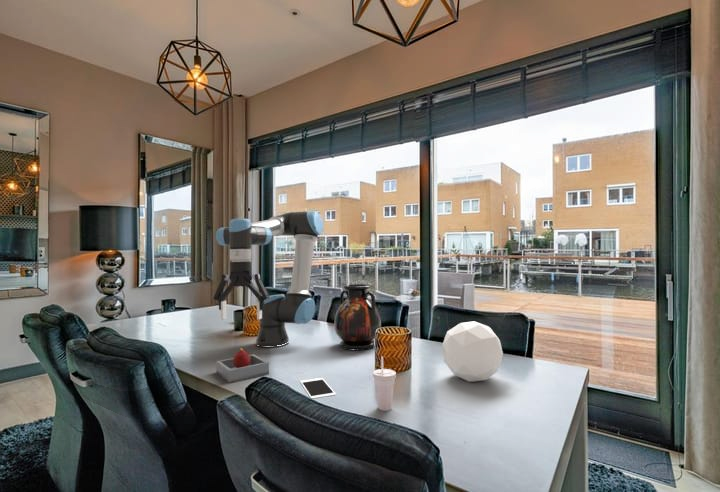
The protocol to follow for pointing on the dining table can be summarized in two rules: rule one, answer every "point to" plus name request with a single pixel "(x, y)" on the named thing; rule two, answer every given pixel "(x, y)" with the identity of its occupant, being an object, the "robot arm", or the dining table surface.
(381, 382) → the smoothie
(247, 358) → the onion
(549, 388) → the dining table surface
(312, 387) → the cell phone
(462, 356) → the geometric orb
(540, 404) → the dining table surface
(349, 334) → the amphora vase
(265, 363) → the box
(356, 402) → the dining table surface
